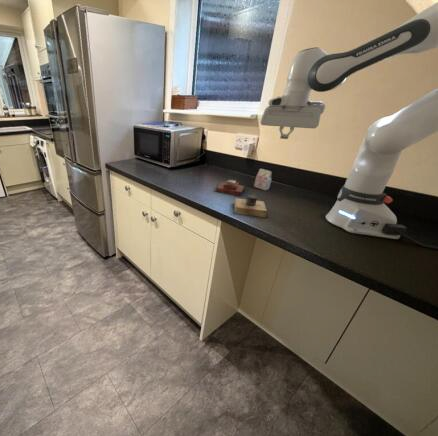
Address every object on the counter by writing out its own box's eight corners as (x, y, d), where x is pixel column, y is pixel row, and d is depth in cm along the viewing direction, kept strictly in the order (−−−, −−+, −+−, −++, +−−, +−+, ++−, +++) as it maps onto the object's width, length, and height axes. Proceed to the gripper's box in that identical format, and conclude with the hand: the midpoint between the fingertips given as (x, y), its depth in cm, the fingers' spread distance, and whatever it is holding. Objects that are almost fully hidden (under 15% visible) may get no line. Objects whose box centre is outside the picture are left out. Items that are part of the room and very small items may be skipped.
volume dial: (245, 201, 103) (247, 193, 101) (255, 203, 102) (257, 195, 100) (245, 204, 100) (247, 196, 98) (255, 206, 98) (257, 198, 97)
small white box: (257, 185, 130) (262, 167, 125) (268, 189, 125) (273, 171, 120) (253, 186, 128) (257, 168, 124) (264, 190, 123) (269, 172, 119)
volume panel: (262, 207, 105) (263, 201, 103) (265, 217, 96) (267, 210, 95) (234, 204, 108) (235, 197, 106) (234, 213, 99) (236, 206, 98)
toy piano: (243, 189, 124) (245, 182, 122) (240, 196, 116) (241, 188, 114) (220, 185, 129) (221, 179, 127) (216, 191, 121) (217, 184, 119)
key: (235, 183, 122) (236, 180, 121) (234, 186, 119) (234, 182, 118) (228, 182, 123) (229, 179, 122) (227, 184, 120) (227, 181, 119)
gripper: (326, 101, 87) (313, 139, 93) (266, 100, 95) (258, 135, 102) (328, 101, 82) (314, 142, 88) (265, 100, 90) (256, 137, 97)
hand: (283, 138), depth 95 cm, fingers closed
